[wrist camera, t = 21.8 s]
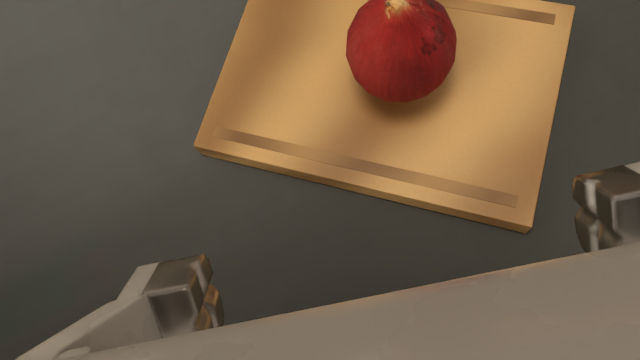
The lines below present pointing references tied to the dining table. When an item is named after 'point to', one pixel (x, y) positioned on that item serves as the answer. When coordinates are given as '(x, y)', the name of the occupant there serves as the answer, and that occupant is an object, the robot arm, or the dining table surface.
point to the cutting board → (396, 108)
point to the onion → (401, 48)
